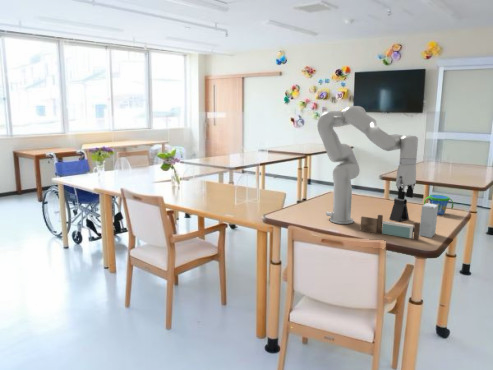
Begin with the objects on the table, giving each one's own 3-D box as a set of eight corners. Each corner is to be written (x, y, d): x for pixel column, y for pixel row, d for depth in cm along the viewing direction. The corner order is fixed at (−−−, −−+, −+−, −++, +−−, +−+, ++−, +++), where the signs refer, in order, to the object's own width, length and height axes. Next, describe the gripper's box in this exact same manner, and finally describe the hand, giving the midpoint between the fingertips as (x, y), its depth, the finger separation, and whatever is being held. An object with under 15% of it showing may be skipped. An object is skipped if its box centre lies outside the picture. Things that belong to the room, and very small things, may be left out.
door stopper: (398, 222, 224) (399, 200, 222) (389, 219, 229) (390, 198, 227) (409, 219, 229) (410, 198, 227) (399, 217, 234) (401, 196, 232)
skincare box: (423, 231, 207) (425, 202, 204) (436, 233, 204) (438, 204, 201) (418, 235, 200) (421, 205, 198) (432, 238, 197) (434, 207, 194)
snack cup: (452, 212, 243) (453, 195, 241) (453, 217, 234) (454, 199, 232) (423, 210, 249) (424, 193, 248) (423, 214, 240) (424, 197, 238)
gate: (381, 233, 203) (382, 221, 202) (382, 232, 205) (383, 220, 203) (412, 238, 195) (413, 226, 194) (413, 237, 197) (414, 225, 195)
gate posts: (360, 230, 209) (360, 213, 207) (362, 229, 212) (363, 211, 210) (417, 240, 193) (419, 221, 192) (419, 238, 196) (420, 220, 195)
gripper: (410, 159, 207) (408, 194, 210) (390, 162, 196) (388, 199, 200) (425, 161, 201) (422, 197, 204) (404, 164, 190) (402, 202, 194)
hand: (405, 197), depth 202 cm, fingers open, 6 cm apart
